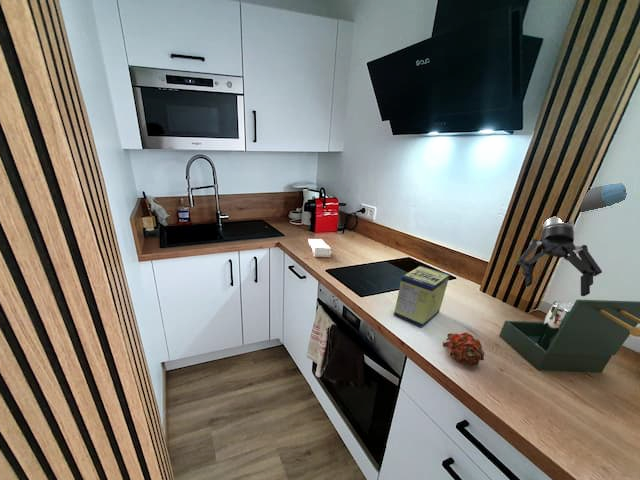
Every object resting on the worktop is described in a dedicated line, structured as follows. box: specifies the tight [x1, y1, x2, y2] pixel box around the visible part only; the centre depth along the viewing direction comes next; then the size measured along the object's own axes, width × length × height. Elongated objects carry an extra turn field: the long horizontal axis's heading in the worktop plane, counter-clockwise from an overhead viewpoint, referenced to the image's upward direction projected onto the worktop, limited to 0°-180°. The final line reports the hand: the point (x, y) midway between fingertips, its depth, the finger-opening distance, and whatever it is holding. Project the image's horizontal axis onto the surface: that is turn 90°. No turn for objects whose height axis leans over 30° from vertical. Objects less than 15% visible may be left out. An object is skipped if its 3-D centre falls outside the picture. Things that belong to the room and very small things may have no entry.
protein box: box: [393, 265, 451, 328], centre depth 100 cm, size 10×16×16 cm
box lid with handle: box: [547, 299, 640, 356], centre depth 68 cm, size 16×18×10 cm
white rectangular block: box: [307, 238, 332, 258], centre depth 165 cm, size 10×7×28 cm
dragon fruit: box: [442, 331, 485, 367], centre depth 81 cm, size 8×8×12 cm
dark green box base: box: [498, 320, 613, 373], centre depth 84 cm, size 16×18×6 cm
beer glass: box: [536, 300, 574, 351], centre depth 82 cm, size 7×7×15 cm
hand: (556, 289), depth 88 cm, fingers open, 13 cm apart
